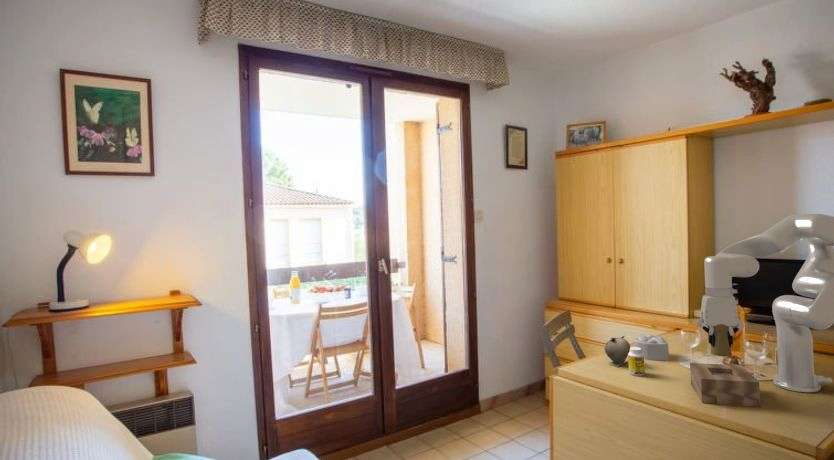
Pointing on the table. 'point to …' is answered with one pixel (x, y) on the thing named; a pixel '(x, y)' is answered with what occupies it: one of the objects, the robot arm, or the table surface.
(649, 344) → the white egg tray
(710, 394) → the brown square frame
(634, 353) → the supplement bottle
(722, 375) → the gray square plate
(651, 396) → the table surface
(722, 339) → the olive pear shape
